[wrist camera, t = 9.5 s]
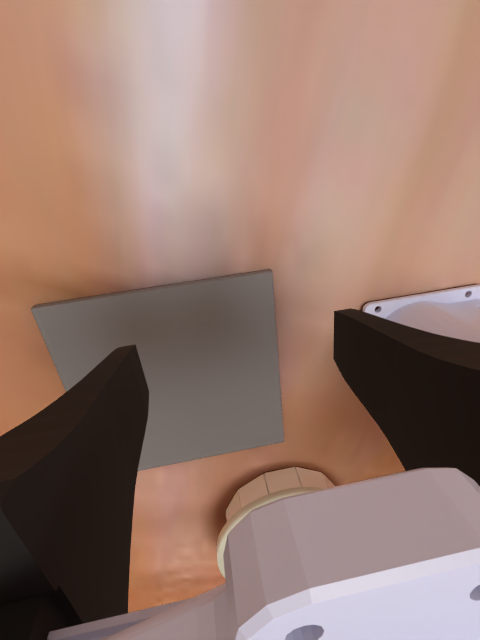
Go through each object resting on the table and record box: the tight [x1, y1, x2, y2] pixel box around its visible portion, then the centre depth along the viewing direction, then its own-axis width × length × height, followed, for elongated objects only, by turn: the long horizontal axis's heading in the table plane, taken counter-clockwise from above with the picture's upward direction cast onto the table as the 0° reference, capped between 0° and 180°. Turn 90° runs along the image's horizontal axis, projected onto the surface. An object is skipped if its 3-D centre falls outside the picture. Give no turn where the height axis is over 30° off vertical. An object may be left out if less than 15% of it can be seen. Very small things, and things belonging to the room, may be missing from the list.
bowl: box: [226, 467, 335, 521], centre depth 31 cm, size 11×11×3 cm
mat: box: [31, 269, 284, 471], centre depth 24 cm, size 15×15×1 cm
